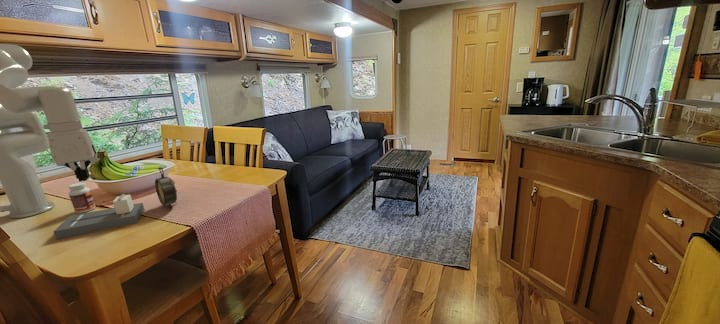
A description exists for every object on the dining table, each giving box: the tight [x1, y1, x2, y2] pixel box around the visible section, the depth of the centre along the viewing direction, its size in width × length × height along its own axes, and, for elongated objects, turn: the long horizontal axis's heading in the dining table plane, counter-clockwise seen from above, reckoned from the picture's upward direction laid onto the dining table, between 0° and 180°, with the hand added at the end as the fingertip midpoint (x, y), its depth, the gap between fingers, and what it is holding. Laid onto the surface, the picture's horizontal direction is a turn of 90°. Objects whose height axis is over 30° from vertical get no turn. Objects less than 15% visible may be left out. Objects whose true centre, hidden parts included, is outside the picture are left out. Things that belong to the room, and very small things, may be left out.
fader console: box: [52, 202, 145, 240], centre depth 105 cm, size 22×12×3 cm, turn 114°
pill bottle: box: [68, 181, 97, 214], centre depth 116 cm, size 6×6×11 cm
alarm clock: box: [154, 166, 178, 210], centre depth 115 cm, size 11×5×16 cm, turn 47°
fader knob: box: [112, 193, 134, 215], centre depth 107 cm, size 4×5×6 cm
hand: (84, 179), depth 101 cm, fingers closed
